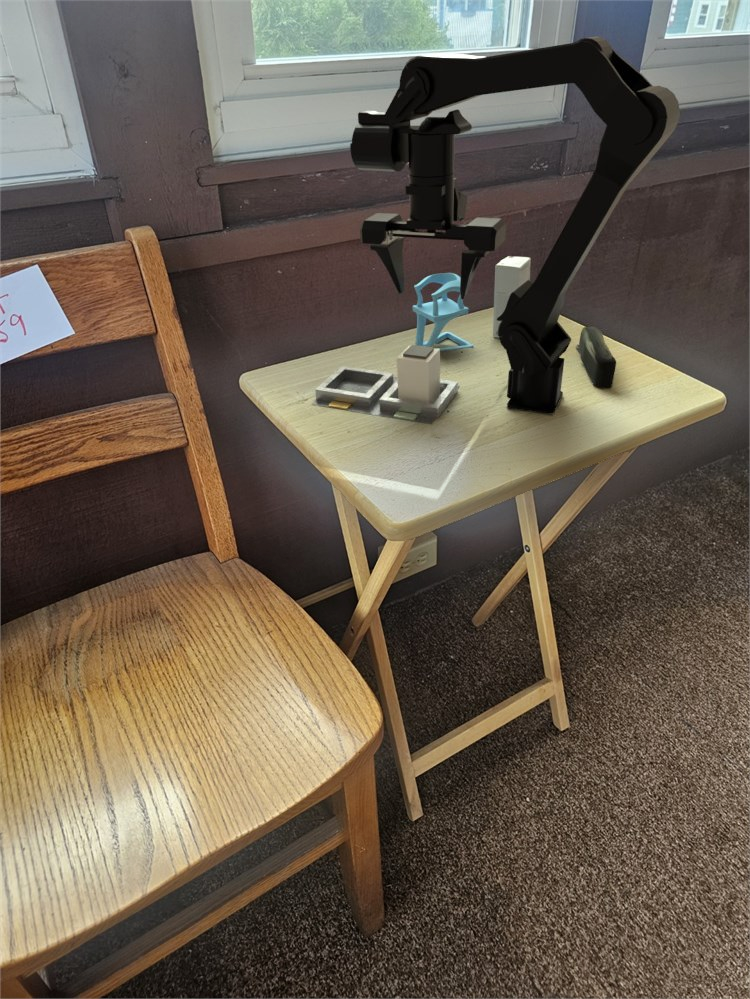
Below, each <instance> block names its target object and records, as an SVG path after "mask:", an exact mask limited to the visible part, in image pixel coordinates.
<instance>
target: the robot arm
mask: <svg viewBox="0 0 750 999" xmlns="http://www.w3.org/2000/svg"><path fill="white" fill-rule="evenodd" d="M566 84H567V85H569V84H575V86H576V87H577V88H578V90H580V92H582V95H583V97H585V99H586V101H587V102H588V103H589V106H590V108H591V109H592V110H593V112H594V113H595V114H596V115H597V116H598V118H599V119H600V120H601V121H602V122H603V123H604V125H606V127H605V129H604V132H603V134H602V138H601V140H600V143H599V146H598V151H597V155H596V159H595V160H596V161H595V163H594V164H595V165H594V169H593V173H592V174H591V177H590V179H589V181H588V183H587V184H586V187H585V188H584V190H583V192H582V194H581V195H580V197H579V199H578V200H577V203H576V204H575V207H574V208H573V210H572V211H571V214H570V216H569V218H568V220H567V221H566V222H565V225H564V226H563V227H562V228H563V229H562V230H561V232H560V234H559V236H558V238H557V240H556V242H555V243H554V245H553V247H552V249H551V251H550V252H549V255H548V256H547V258H546V260H545V261H544V263H543V265H542V267H541V269H540V271H539V272H538V275H537V277H536V279H535V280H534V282H532V281H531V280H530V281H529V280H527V281H526V282H524V283H523V284H522V285H521V286H519V287H518V288H517V289H516V290H514V291H513V292H512V293H511V294H510V297H509V299H508V302H507V305H506V308H505V310H504V312H503V313H502V315H500V316H499V317H498V318H497V321H501V323H500V325H499V327H498V334H497V335H498V337H499V338H498V339H499V343H500V344H501V345H502V348H504V350H505V353H506V355H507V358H508V362H509V365H510V369H509V370H508V374H507V375H508V376H507V377H508V378H507V391H506V392H507V393H506V397H507V398H508V399H509V400H508V402H507V403H506V408H508V409H511V410H512V409H514V410H521V411H527V412H533V413H541V414H547V415H553V414H555V412H556V410H557V408H558V407H559V404H560V402H561V400H562V398H563V395H564V392H563V391H562V385H563V384H562V383H563V382H562V381H563V374H564V364H565V358H564V357H562V355H563V354H564V353H565V352H566V351H567V349H568V348H569V347H570V343H571V342H572V338H571V336H570V335H569V333H568V332H567V331H566V330H565V329H564V328H563V326H562V325H561V324H560V323H559V317H560V315H561V312H562V310H563V306H564V302H565V299H566V298H565V297H566V292H567V290H568V288H569V286H570V284H571V283H572V282H573V280H574V278H575V276H576V274H577V272H578V271H579V269H580V267H582V264H583V262H584V260H585V259H586V257H587V256H588V254H589V252H590V250H591V248H592V247H593V246H594V244H595V242H596V240H597V238H598V237H599V235H600V234H601V232H602V230H603V228H604V227H605V225H606V223H607V222H608V220H609V218H610V216H611V215H612V213H613V211H614V210H615V208H616V207H617V205H618V203H619V201H620V199H621V198H622V196H623V194H624V193H625V191H626V190H627V188H628V186H629V185H630V184H631V182H633V180H634V178H635V177H636V176H638V174H639V173H640V172H641V171H642V169H643V168H644V167H646V165H647V164H648V163H649V161H651V159H652V158H653V157H654V156H655V155H656V153H657V152H658V151H659V149H661V147H662V146H663V145H664V143H665V142H666V141H667V140H668V139H669V138H670V136H671V135H672V134H673V132H674V131H675V130H676V128H677V126H678V123H679V120H680V118H681V110H680V105H679V100H678V98H677V97H676V94H675V93H674V92H673V91H671V89H669V88H668V87H665V86H660V85H653V84H652V83H651V82H650V81H649V80H648V79H647V77H645V76H644V75H643V74H642V73H641V72H640V71H639V70H638V69H636V68H635V66H633V65H631V64H630V63H629V62H628V61H627V60H626V59H624V58H623V57H622V56H621V55H620V54H618V52H617V51H616V50H615V49H614V48H613V47H612V46H611V44H610V43H609V40H608V39H605V38H603V37H602V36H590V37H584V38H580V39H577V40H576V41H574V42H571V43H564V44H560V45H559V44H558V45H553V46H547V47H546V46H545V47H539V48H534V49H527V50H521V51H514V52H510V53H502V54H495V55H489V56H482V55H479V56H478V55H473V54H472V55H471V54H463V53H449V52H448V53H447V52H446V53H445V52H444V53H441V52H440V53H434V54H425V55H419V56H414V57H412V58H410V59H409V60H407V61H406V63H405V65H404V67H403V69H402V71H401V74H400V77H399V87H398V88H397V90H396V92H395V95H394V96H393V98H392V100H391V102H390V104H389V105H388V107H387V109H386V111H385V112H378V111H376V110H364V111H360V112H358V113H357V121H358V123H357V124H356V126H355V128H354V130H353V133H352V138H351V142H350V144H349V145H350V146H349V147H350V156H351V160H352V162H353V164H354V166H355V167H356V168H357V169H358V170H360V171H378V172H379V171H380V172H395V173H397V172H401V171H402V170H403V169H404V168H405V167H406V164H407V163H408V184H407V185H405V195H407V196H408V195H409V196H408V197H409V218H408V219H407V220H406V221H403V218H402V216H401V214H400V213H391V212H390V213H388V212H387V213H386V212H377V213H375V214H372V215H371V216H369V217H368V218H365V219H364V220H362V222H361V224H360V227H359V238H360V243H361V244H364V245H365V244H367V245H369V250H370V251H374V252H376V254H377V256H378V257H379V259H380V261H381V262H382V263H383V266H384V267H385V268H386V271H387V272H388V274H389V276H390V278H391V281H392V283H393V285H394V287H395V289H396V291H397V292H398V294H400V295H402V294H403V293H404V292H405V273H404V272H405V270H404V257H403V248H404V241H405V238H413V239H414V238H415V239H433V240H434V239H435V240H450V241H452V240H453V241H463V244H464V245H465V247H466V248H465V249H464V250H463V251H462V252H461V258H460V259H461V260H460V261H461V262H460V278H461V280H460V292H459V293H460V294H461V299H463V301H464V300H465V299H466V297H467V295H468V292H469V289H470V287H471V284H472V282H473V279H474V276H475V273H476V270H477V268H478V266H479V264H480V262H481V259H482V258H485V257H486V256H487V255H488V254H489V253H491V252H494V251H496V250H497V249H498V248H499V247H500V246H501V245H502V244H503V243H504V242H505V241H506V236H507V234H506V232H507V226H506V223H505V221H504V220H503V218H502V217H501V218H499V217H498V218H497V217H496V218H494V217H493V218H492V217H479V216H478V217H475V218H474V219H473V220H471V221H470V222H468V224H459V223H457V224H456V223H454V222H464V221H465V220H466V213H467V204H468V195H466V194H464V193H462V192H461V191H459V189H458V182H457V181H458V180H457V177H455V143H456V142H455V141H456V140H455V139H456V138H455V136H457V135H462V134H464V133H467V132H470V131H471V130H472V128H473V125H472V124H471V123H470V122H469V121H468V120H467V119H466V118H465V117H464V116H463V114H462V113H461V110H460V109H454V110H451V111H448V113H447V114H446V116H429V115H430V114H432V113H433V112H436V111H440V110H443V109H449V108H451V107H453V106H456V105H459V104H461V103H465V102H467V101H470V100H473V99H475V98H477V97H480V96H483V95H490V94H498V93H499V94H500V93H506V92H513V91H515V92H516V91H523V90H529V89H530V90H531V89H537V88H544V87H553V86H559V85H560V86H561V85H566ZM423 118H424V119H423ZM418 119H423V120H422V121H421V123H420V124H419V125H411V121H414V120H418ZM460 294H459V295H460Z"/></svg>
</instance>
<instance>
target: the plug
mask: <svg viewBox="0 0 750 999" xmlns="http://www.w3.org/2000/svg"><path fill="white" fill-rule="evenodd" d="M396 369H397V372H396V374H397V375H396V377H398V399H403V400H410V401H416V402H423V403H429V404H434V402H435V401H436V400H437V398H438V397H439V396H440V380H441V351H440V349H436V348H435V347H426V345H425V346H417V345H415V344H409V345H407V347H406V348H405V349H404V350H403V351H402V352H401V353H400V354H399V355H398V356H397V357H396Z"/></svg>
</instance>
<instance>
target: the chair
mask: <svg viewBox="0 0 750 999" xmlns="http://www.w3.org/2000/svg"><path fill="white" fill-rule="evenodd" d="M460 280H461V276H459V275H458V274H456V273H453V272H445V273H435V274H431V275H428V276H426V277H424V278H423V279H422V280H421V281H420V282H419V283H417V284H414V285H413V287H414V290H415V293H416V296H417V304H416V305H415V304H414V305H412V312H414V313H416V318H417V319H416V333H415V334H416V335H415V342H414V343H415V344H414V345H417V346H426V347H433V346H434V345H436V344H439V343H441V342H442V341H444V340H445V339H450V341H452V342H454V343H456V344H458V345H457V346H455V345H454V346H447V347H446V346H445V347H439V348H438V347H437V348H436V349H440V352H442V351H444V352H445V351H452V350H461V349H474V344H472V343H470V342H469V341H467V340H465V339H463V338H461V337H459V335H456V334H454V333H452V332H450V331H445V332H442V331H443V329H444V328H445V326H446V325H447V324H448V323H449V322H451V321H452V320H454V319H456V318H458V317H459V316H464V315H468V314H469V307H467V306H465V305H464V300H463V299H461V294H459V296H458V298H457V302H455V301H454V300H452V299H450V298H448V293H450V292H458V293H460ZM431 283H437V284H439V285H441V287H439V288H438V290H436V291H435V292H433V293H431V299H432V301H430V302H425V303H424V298H423V295H422V292H421V290H422V289H424V288H425V286H427V285H429V284H431ZM427 320H429V321H430V322H432V323H434V328H433V330H432V332H431V335H430V337H429V339H428V340H426V341H424V337H425V329H426V323H427ZM441 332H442V333H441Z"/></svg>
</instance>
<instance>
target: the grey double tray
mask: <svg viewBox="0 0 750 999" xmlns="http://www.w3.org/2000/svg"><path fill="white" fill-rule="evenodd" d="M460 388H461V387H460V385H459V381H453V380H446V379H440V396H439V397H438V398H437V400H436V401H435V402H434V404H429V403H423V402H416V401H410V400H403V399H398V377H397V376H394V372H390V371H389V372H388V371H381V370H374V369H367V368H362V367H361V368H360V367H354V366H353V367H352V366H346V365H341V366H340V367H339V368H338V369H336V370H335V371H334V372H333V373H332V374H331V375H330V376H328V377H327V378H326V379H325V380H324V381H323V382H322V383H321V384H320V385H319V386H318V387H316V388H315V389H314V390H315V399H316V400H315V401H314V402H313V403H312V404H311V406H315V407H316V406H317V407H323V408H329V409H336V410H340V411H348V412H352V413H359V414H365V415H371V416H378V417H383V418H389V419H394V420H395V419H396V420H401V421H408V422H414V423H419V424H425V425H433V423H434V422H435V420H436V419H439V418H440V416H441V414H443V412H444V411H445V409H446V408H447V406H448V405H449V404H450V403H451V401H452V400H453V399H454V398H455V396H456V395H457V393H458V392H459V389H460Z"/></svg>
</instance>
